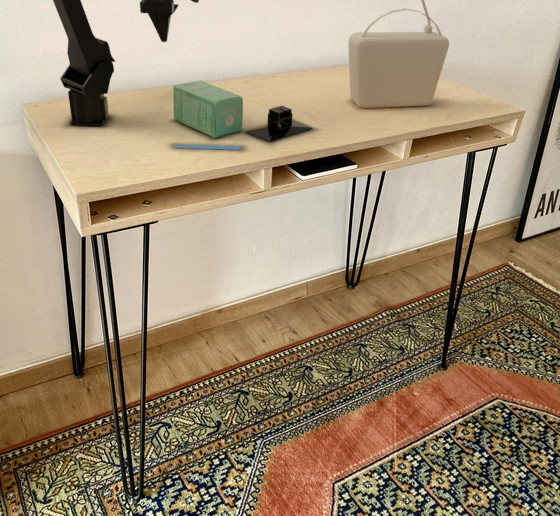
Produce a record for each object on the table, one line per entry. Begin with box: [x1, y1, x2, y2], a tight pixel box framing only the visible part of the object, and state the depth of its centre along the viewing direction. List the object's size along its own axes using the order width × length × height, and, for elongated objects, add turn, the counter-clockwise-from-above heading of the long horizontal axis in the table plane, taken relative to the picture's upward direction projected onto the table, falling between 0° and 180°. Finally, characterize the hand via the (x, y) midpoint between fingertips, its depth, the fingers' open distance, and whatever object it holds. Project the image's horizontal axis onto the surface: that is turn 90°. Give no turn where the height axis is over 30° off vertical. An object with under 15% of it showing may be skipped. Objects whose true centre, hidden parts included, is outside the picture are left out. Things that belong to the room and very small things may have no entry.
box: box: [172, 79, 244, 139], centre depth 126 cm, size 7×14×8 cm, turn 45°
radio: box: [347, 0, 450, 109], centre depth 140 cm, size 22×8×25 cm, turn 104°
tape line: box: [175, 144, 241, 151], centre depth 118 cm, size 12×2×1 cm, turn 92°
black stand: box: [245, 105, 313, 144], centre depth 126 cm, size 12×7×5 cm, turn 134°
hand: (164, 41), depth 133 cm, fingers closed
